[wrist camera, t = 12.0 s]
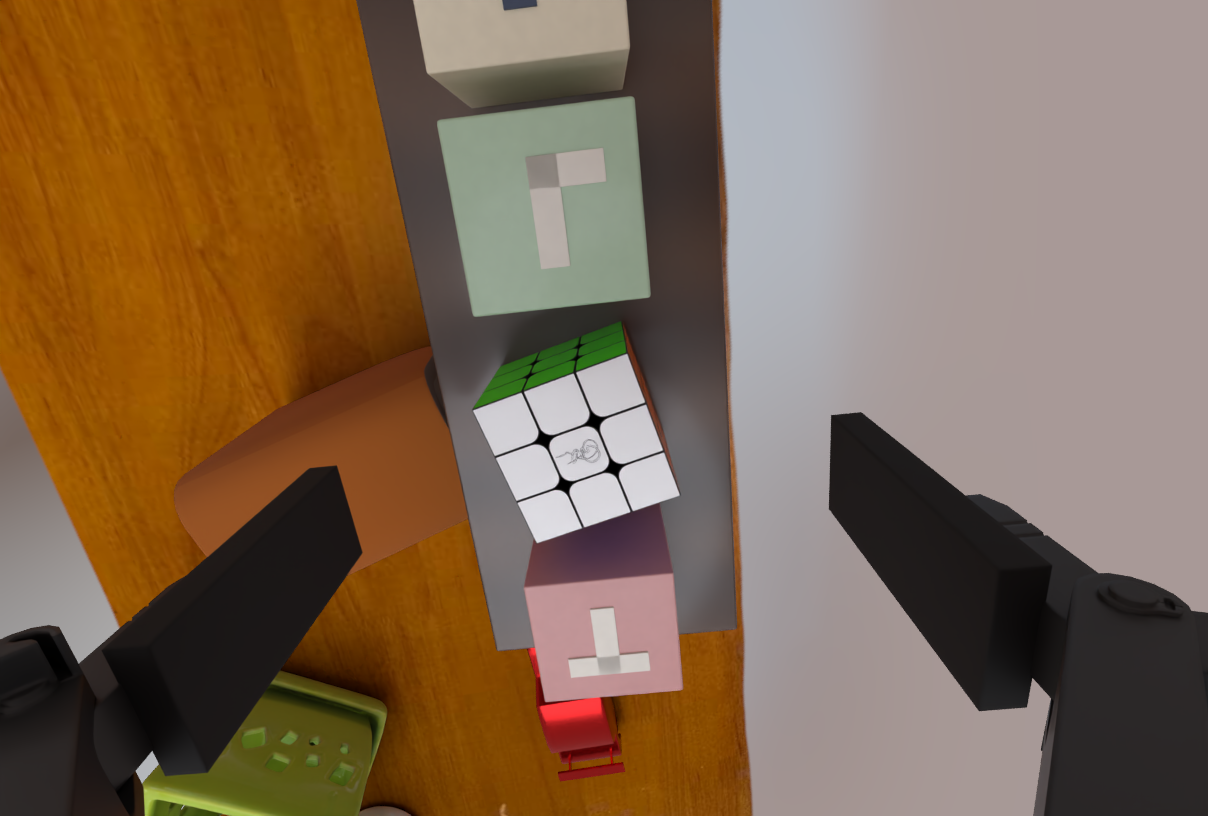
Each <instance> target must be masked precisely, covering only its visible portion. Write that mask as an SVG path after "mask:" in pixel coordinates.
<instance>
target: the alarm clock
mask: <svg viewBox="0 0 1208 816" xmlns="http://www.w3.org/2000/svg"><path fill="white" fill-rule="evenodd" d="M335 465H337V467H338V471H339V474H340V477H341V481H342V484H343V487H344V491H345V494H346V498H347V501H348V504H349V508H350V511H351V515H352V518H353V521H354V525H355V528H356V532H357V535H358V538H359V542H360V545H361V549H362V552H363V553H362V555H361V556H360V558H359V559H358V560H357V562H356V563H355V565H354V566H353V567H352V569H351V570H350V572H349V573H348V575H350V574H352V573H354V572H356V571H358V570H360V569H362V568H364V567H367V566H369V565H371V564H373V563H375V562H377V561H379V560H381V559H384V558H386V557H388V556H390V555H392V554H394V553H396V552H398V551H400V550H403V549H405V548H407V547H409V546H411V545H413V544H415V543H417V542H419V541H422V540H424V539H426V538H428V537H430V536H432V535H434V534H436V533H439V532H441V531H443V530H445V529H447V528H449V527H451V526H453V525H455V524H458V523H460V522H462V521H464V520H466V519H468V515H467V511H466V506H465V501H464V497H463V492H462V487H461V483H460V478H459V474H458V469H457V464H456V460H455V455H454V450H453V446H452V441H451V436H450V432H449V427H448V423H447V418H446V413H445V409H444V404H443V399H442V395H441V390H440V386H439V381H438V376H437V372H436V367H435V362H434V358H433V353H432V349H431V346H430V347H424V348H420V349H417V350H413V351H411V352H408V353H405V354H402V355H399V356H397V357H394V358H392V359H389V360H387V361H384V362H382V363H380V364H377V365H375V366H373V367H370V368H368V369H366V370H363V371H361V372H359V373H357V374H354V375H352V376H350V377H348V378H345V379H343V380H341V381H339V382H337V383H334V384H332V385H330V386H328V387H325V388H323V389H321V390H319V391H316V392H314V393H312V394H310V395H307V396H305V397H303V398H301V399H298V400H296V401H294V402H292V403H290V404H287V405H285V406H283V407H281V408H278V409H277V410H275V411H274V412H272V413H271V414H269V415H268V416H267V417H265V418H264V419H262V420H261V421H260V422H258V423H257V424H255V425H254V426H252V427H251V428H250V429H248V430H247V431H245V432H244V433H243V434H241V435H240V436H238V437H237V438H235V439H234V440H233V441H231V442H230V443H228V444H227V445H226V446H224V447H223V448H221V449H220V450H218V451H217V452H216V453H214V454H213V455H211V456H210V457H209V458H207V459H206V460H204V461H203V462H202V463H200V464H199V465H197V466H196V467H194V468H193V469H192V470H190V471H189V472H187V473H186V474H185V475H184V476H183V477H182V478H181V479H180V480H179V481H178V482H177V485H176V487H175V490H174V502H175V507H176V511H177V514H178V516H179V519H180V521H181V522H182V524H183V526H184V527H185V529H186V530H187V532H188V533H189V534H190V536H191V537H192V538H193V539H194V541H195V542H196V543H197V545H198V546H199V547H200V549H201V550H202V551H203V553H204V554H205V555H206V557H208V556H209V555H210V554H212V553H213V552H214V551H215V550H216V549H217V548H218V547H220V546H221V545H222V544H223V543H224V542H225V541H226V540H228V539H229V538H230V537H231V536H232V535H233V534H234V533H236V532H237V531H238V530H239V529H240V528H241V527H242V526H244V525H245V524H246V523H247V522H248V521H249V520H250V519H252V518H253V517H254V516H255V515H256V514H257V513H258V512H260V511H261V510H262V509H263V508H264V507H265V506H266V505H268V504H269V503H270V502H271V501H272V500H273V499H274V498H276V497H277V496H278V495H279V494H280V493H281V492H282V491H284V490H285V489H286V488H287V487H288V486H289V485H290V484H292V483H293V482H294V481H295V480H296V479H297V478H298V477H300V476H301V475H302V474H303V473H304V472H305V471H306V470H308V469H309V468H315V467H325V466H335ZM348 575H347V576H348Z"/></svg>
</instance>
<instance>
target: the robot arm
mask: <svg viewBox="0 0 1208 816" xmlns="http://www.w3.org/2000/svg"><path fill="white" fill-rule="evenodd" d="M830 449H831V450H830V490H829V510H830V511H831V512H832V514H833V515H834V516H835V518H836V519H837V520H838V522H839V523H840V524H841V526H842V527H843V528H844V530H845V531H846V532H847V534H848V535H849V536H850V538H851V539H852V541H853V542H854V543H855V545H856V546H857V547H858V549H859V550H860V551H861V553H862V554H863V555H864V556H865V558H866V559H867V561H868V562H869V563H870V565H871V566H872V567H873V569H874V570H875V571H876V573H877V574H878V576H879V577H880V578H881V580H882V581H883V582H884V583H885V585H886V586H887V588H888V589H889V590H890V592H891V593H892V594H893V595H894V597H895V598H896V600H897V601H898V602H899V604H900V605H901V606H902V608H903V609H904V611H905V612H906V613H907V615H908V616H909V617H910V619H911V620H912V621H913V623H914V624H915V625H916V626H917V628H918V629H919V631H920V632H921V633H922V635H923V636H924V637H925V639H926V640H927V642H928V643H929V644H930V646H931V647H932V648H933V650H934V651H935V652H936V654H937V655H938V656H939V658H940V659H941V660H942V662H943V663H944V664H945V666H946V667H947V668H948V670H949V671H950V672H951V674H952V675H953V676H954V678H955V679H956V681H957V682H958V683H959V684H960V686H961V687H962V689H963V690H964V691H965V693H966V694H967V695H968V697H969V698H970V699H971V701H972V702H973V703H974V705H975V706H976V708H977V709H978V710H979V711H987V710H1000V709H1012V708H1025V707H1027V704H1028V698H1029V692H1030V687H1031V682H1032V678H1033V679H1034V680H1035V681H1036V682H1037V683H1038V684H1039V685H1040V687H1041V688H1042V689H1043V690H1044V691H1045V692H1046V693H1047V694H1048V695H1049V696H1050V698H1051V701H1050V706H1049V711H1048V717H1047V721H1046V726H1045V731H1044V736H1043V742H1042V746H1041V751H1042V758H1041V766H1040V772H1039V780H1038V786H1037V794H1036V800H1035V807H1034V814H1033V816H1208V613H1205V612H1196V611H1191V610H1190V608H1189V606H1188V605H1187V604H1186V603H1184V602H1183V601H1182V600H1181V599H1179V598H1178V597H1177V596H1176V595H1174V594H1173V593H1170V592H1169V591H1167V590H1164V589H1163V588H1160V587H1158V586H1156V585H1154V584H1152V583H1149V582H1146V581H1143V580H1139V579H1136V578H1133V577H1129V576H1123V575H1116V574H1111V573H1097V572H1096V571H1094V570H1093V569H1092V568H1090V567H1089V566H1088V565H1087V564H1085V563H1084V562H1082V561H1081V560H1080V559H1078V558H1077V557H1076V556H1074V555H1073V554H1071V553H1070V552H1069V551H1068V550H1066V549H1065V548H1064V547H1062V546H1061V545H1060V544H1058V543H1057V542H1055V541H1054V540H1052V539H1051V538H1050V537H1049V536H1044V535H1043V532H1042V531H1040V530H1039V529H1038V528H1037V527H1035V526H1034V525H1032V524H1031V523H1027V520H1026V519H1024V518H1023V517H1022V516H1020V515H1019V514H1018V513H1016V512H1015V511H1014V510H1012V509H1011V508H1010V507H1008V506H1007V505H1004V504H1002V503H999V502H997V501H995V500H992V499H990V498H988V497H985V496H983V495H981V494H978V495H968V496H965V495H964V494H963V493H962V492H960V491H959V490H958V489H957V488H955V487H954V486H953V485H952V484H950V483H949V482H948V481H947V480H945V479H944V478H943V477H941V476H940V475H939V474H938V473H937V472H935V471H934V470H933V469H931V468H930V467H929V466H928V465H926V464H925V463H924V462H923V461H921V460H920V459H919V458H918V457H916V456H915V455H914V454H913V453H911V452H910V451H909V450H908V449H907V448H905V447H904V446H903V445H902V444H900V443H899V442H898V441H896V440H895V439H894V438H893V437H891V436H890V435H889V434H888V433H886V432H885V431H884V430H883V429H881V428H880V427H879V426H878V425H876V424H875V423H874V422H873V421H871V420H870V419H869V418H868V417H866V416H865V415H864V414H863V413H861V412H860V413H850V414H839V415H831V448H830ZM362 553H363V552H362V549H361V545H360V542H359V538H358V535H357V532H356V528H355V525H354V521H353V518H352V515H351V511H350V508H349V504H348V501H347V498H346V494H345V491H344V487H343V484H342V481H341V477H340V474H339V471H338V467H337V465H335V466H325V467H315V468H309V469H308V470H306V471H305V472H304V473H303V474H302V475H301V476H300V477H298V478H297V479H296V480H295V481H294V482H293V483H292V484H290V485H289V486H288V487H287V488H286V489H285V490H284V491H282V492H281V493H280V494H279V495H278V496H277V497H276V498H274V499H273V500H272V501H271V502H270V503H269V504H268V505H266V506H265V507H264V508H263V509H262V510H261V511H260V512H258V513H257V514H256V515H255V516H254V517H253V518H252V519H250V520H249V521H248V522H247V523H246V524H245V525H244V526H242V527H241V528H240V529H239V530H238V531H237V532H236V533H234V534H233V535H232V536H231V537H230V538H229V539H228V540H226V541H225V542H224V543H223V544H222V545H221V546H220V547H218V548H217V549H216V550H215V551H214V552H213V553H212V554H210V555H209V556H208V557H207V558H206V559H205V560H204V561H203V562H201V563H200V564H199V565H198V566H197V567H196V568H195V569H193V570H192V571H191V572H190V573H189V574H188V575H186V576H185V577H183V578H181V579H180V580H178V581H176V582H175V583H173V584H171V585H170V586H168V587H167V588H166V589H165V590H164V591H162V592H161V593H160V594H159V595H158V596H157V597H155V598H154V599H153V600H152V601H151V602H150V603H149V606H147V607H144V608H143V609H142V610H140V611H139V612H138V613H137V614H136V615H135V616H133V617H132V621H128V622H127V623H125V624H124V625H123V626H122V627H121V628H120V629H118V630H117V631H116V632H115V633H114V634H113V635H112V636H110V638H108V639H107V640H106V641H105V642H103V643H102V644H101V645H100V646H99V647H98V648H96V649H95V650H94V651H93V652H92V653H91V654H90V655H88V656H87V657H86V658H85V659H84V660H83V661H81V662H80V663H79V664H78V662H77V660H76V658H75V656H74V654H73V652H72V651H71V649H70V647H69V645H68V643H67V641H66V639H65V637H64V635H63V634H62V632H61V630H60V628H59V627H56V626H50V625H47V626H41V627H35V628H30V629H27V630H24V631H21V632H18V633H15V634H12V635H9V636H7V637H5V638H3V639H0V816H145V807H144V787H143V785H142V783H141V781H140V779H139V777H138V775H137V773H136V770H137V768H138V767H139V766H140V765H141V763H142V762H143V761H144V760H145V759H146V758H147V756H148V755H149V754H150V753H151V752H152V751H153V753H154V755H155V757H156V759H157V761H158V763H159V765H160V767H161V769H162V771H163V773H164V775H165V776H174V775H186V774H199V773H208V772H209V770H210V769H211V767H212V766H213V765H214V763H215V762H216V760H217V759H218V758H219V756H220V755H221V753H222V752H223V750H224V749H225V748H226V746H227V745H228V743H229V742H230V741H231V739H232V738H233V736H234V735H235V733H236V732H237V731H238V729H239V728H240V726H241V725H242V724H243V722H244V721H245V719H246V718H247V716H248V715H249V714H250V712H251V711H252V709H253V708H254V706H255V705H256V704H257V702H258V701H259V699H260V698H261V697H262V695H263V694H264V692H265V691H266V689H267V688H268V687H269V685H270V684H271V682H272V681H273V680H274V678H275V677H276V675H277V674H278V672H279V671H280V670H281V668H282V667H283V665H284V664H285V663H286V661H287V660H288V658H289V657H290V655H291V654H292V653H293V651H294V650H295V648H296V647H297V646H298V644H299V643H300V641H301V640H302V638H303V637H304V636H305V634H306V633H307V631H308V630H309V628H310V627H311V626H312V624H313V623H314V621H315V620H316V619H317V617H318V616H319V614H320V613H321V611H322V610H323V609H324V607H325V606H326V604H327V603H328V602H329V600H330V599H331V597H332V596H333V594H334V593H335V592H336V590H337V589H338V587H339V586H340V585H341V583H342V582H343V580H344V579H345V577H346V576H347V575H348V573H349V572H350V570H351V569H352V567H353V566H354V565H355V563H356V562H357V560H358V559H359V558H360V556H361V555H362Z"/></svg>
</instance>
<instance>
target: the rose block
mask: <svg viewBox="0 0 1208 816" xmlns="http://www.w3.org/2000/svg"><path fill="white" fill-rule="evenodd" d="M524 592H525V598H526V603H527V608H528V614H529V619H530V624H531V630H532V635H533V640H534V646H535V651H536V656H537V662H538V667H539V672H540V678H541V683H542V688H543V694H544V699H545V702H553V701H564V700H575V699H587V698H598V697H609V696H620V695H631V694H643V693H654V692H665V691H676V690H683V681H682V669H681V657H680V645H679V632H678V620H677V608H676V596H675V584H674V573H673V568H672V563H671V558H670V553H669V547H668V542H667V537H666V532H665V527H664V522H663V517H662V512H661V507H660V503H658V504H655V505H652V506H649V507H646V508H643V509H640V510H637V511H634V512H631V513H628V514H625V515H622V516H619V517H616V518H613V519H610V520H607V521H604V522H601V523H598V524H595V525H592V526H589V527H586V528H583V529H580V530H577V531H574V532H571V533H568V534H565V535H562V536H559V537H556V538H553V539H550V540H547V541H544V542H541V543H538V544H536V542H535V540H533V545H532V549H531V554H530V559H529V564H528V569H527V574H526V579H525V583H524Z"/></svg>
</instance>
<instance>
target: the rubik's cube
mask: <svg viewBox="0 0 1208 816" xmlns="http://www.w3.org/2000/svg"><path fill="white" fill-rule="evenodd" d="M472 412H473V414H474V416H475V418H476V420H477V422H478V424H479V426H480V428H481V430H482V433H483V435H484V437H485V439H486V441H487V443H488V445H489V447H490V449H491V451H492V453H493V455H494V457H495V459H496V461H497V464H498V466H499V468H500V470H501V472H502V474H503V476H504V478H505V480H506V482H507V484H508V486H509V488H510V490H511V493H512V495H513V497H514V499H515V501H517V502H516V503H517V505H518V507H519V509H520V511H521V513H522V515H523V517H524V519H525V521H526V524H527V526H528V528H529V530H530V532H531V534H532V536H533V538H534V540H535V542H536V544H538V543H541V542H544V541H547V540H550V539H553V538H556V537H559V536H562V535H565V534H568V533H571V532H574V531H577V530H580V529H583V528H586V527H589V526H592V525H595V524H598V523H601V522H604V521H607V520H610V519H613V518H616V517H619V516H622V515H625V514H628V513H631V512H634V511H637V510H640V509H643V508H646V507H649V506H652V505H655V504H658V503H661V502H664V501H667V500H670V499H673V498H676V497H679V496H681V493H680V489H679V485H678V482H677V478H676V475H675V471H674V468H673V464H672V460H671V457H670V453H669V450H668V446H667V443H666V439H665V436H664V433H663V430H662V427H661V425H660V422H659V419H658V417H657V414H656V411H655V409H654V406H653V403H652V401H651V398H650V395H649V392H648V390H647V387H646V384H645V381H644V379H643V376H642V373H641V371H640V368H639V365H638V363H637V360H636V357H635V354H634V352H633V349H632V346H631V344H630V341H629V338H628V335H627V333H626V330H625V327H624V325H623V322H622V321H620V322H617V323H615V324H612V325H609V326H607V327H604V328H601V329H599V330H596V331H593V332H591V333H588V334H586V335H583V336H581V337H578V338H575V339H572V340H570V341H567V342H564V343H562V344H559V345H556V346H554V347H551V348H548V349H546V350H543V351H540V352H538V353H535V354H532V355H530V356H527V357H524V358H522V359H519V360H516V361H514V362H511V363H508V364H506V365H503V366H500V368H499V369H498V371H497V372H496V374H495V375H494V377H493V378H492V380H491V381H490V383H489V384H488V386H487V387H486V389H485V390H484V392H483V394H482V395H481V397H480V398H479V400H478V401H477V403H476V404H475V406H474V407H473V409H472Z"/></svg>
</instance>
